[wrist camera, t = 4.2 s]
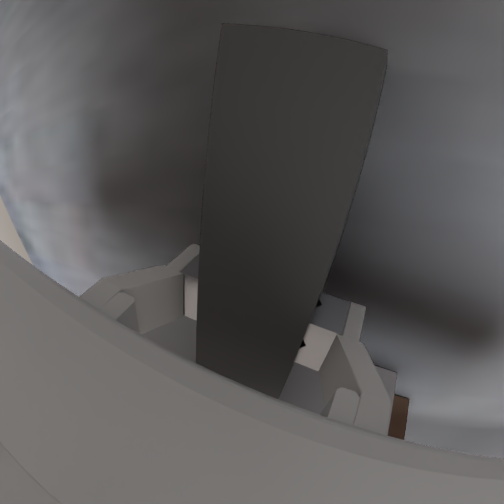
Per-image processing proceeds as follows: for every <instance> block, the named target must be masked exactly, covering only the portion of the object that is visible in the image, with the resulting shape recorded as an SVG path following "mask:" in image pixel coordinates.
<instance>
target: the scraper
mask: <svg viewBox="0 0 504 504" xmlns="http://www.w3.org/2000/svg"><path fill="white" fill-rule="evenodd" d="M387 55H388V50H386V49H382V48H379V47H375V46H371V45H367V44H364V43H360V42H355V41H351V40H347V39H342V38H338V37H333V36H328V35H323V34H317V33H312V32H306V31H299V30H292V29H285V28H277V27H267V26H257V25H244V24H225V23H222V28H221V35H220V42H219V49H218V57H217V64H216V72H215V80H214V88H213V97H212V105H211V114H210V124H209V134H208V144H207V155H206V166H205V178H204V190H203V203H202V218H201V233H200V251H199V270H198V293H197V321H196V320H193V319H191V318H189V317H187V316H184V315H183V317H181V318H179V319H176V320H174V321H172V322H169V323H167V324H164V325H162V326H160V327H157V328H155V329H152V330H150V331H148V332H145V333H143V334H141V335H143V336H145V337H147V338H149V339H150V340H152V341H154V342H156V343H158V344H160V345H162V346H163V347H165V348H167V349H169V350H171V351H173V352H175V353H177V354H179V355H181V356H183V357H185V358H187V359H189V360H191V361H193V362H195V363H197V364H199V365H201V366H203V367H205V368H207V369H209V370H211V371H214V372H216V373H218V374H220V375H222V376H224V377H227V378H229V379H231V380H233V381H236V382H238V383H240V384H242V385H245V386H247V387H249V388H252V389H254V390H256V391H259V392H261V393H264V394H266V395H269V396H271V397H274V398H276V399H279V400H281V401H284V402H286V403H289V404H292V405H294V406H297V407H300V408H302V409H305V410H308V411H311V412H313V413H316V414H319V415H320V413H321V412H322V410H323V409H324V407H325V406H326V403H325V399H324V395H323V391H322V387H321V383H320V379H319V375H318V371H316V370H313V369H311V368H308V367H306V366H303V365H301V364H299V363H296V362H294V361H295V358H296V355H297V353H298V350H299V348H300V346H301V343H302V341H303V338H304V335H305V333H306V330H307V327H308V325H309V322H310V320H311V317H312V315H313V312H314V310H315V308H316V305H317V303H318V300H319V297H320V295H321V292H322V291H323V288H324V286H325V283H326V280H327V277H328V274H329V272H330V269H331V266H332V263H333V260H334V257H335V254H336V251H337V248H338V245H339V242H340V239H341V236H342V233H343V230H344V227H345V224H346V221H347V217H348V214H349V211H350V208H351V204H352V201H353V198H354V194H355V191H356V188H357V184H358V181H359V177H360V174H361V170H362V167H363V163H364V160H365V156H366V152H367V148H368V145H369V141H370V137H371V133H372V129H373V125H374V121H375V117H376V113H377V109H378V105H379V100H380V96H381V92H382V87H383V83H384V78H385V73H386V69H387ZM374 366H375V365H374ZM375 368H376V370H377V372H378V374H379V377H380V379H381V381H382V383H383V385H384V387H385V389H386V391H387V394H388V396H389V398H390V400H391V408H390V414H389V420H388V426H387V431H386V435H388V430H389V425H390V419H391V413H392V406H393V400H394V393H395V385H396V377H397V373H396V372H393V371H390V370H387V369H383V368H380V367H377V366H375Z"/></svg>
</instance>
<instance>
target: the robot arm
mask: <svg viewBox="0 0 504 504" xmlns="http://www.w3.org/2000/svg"><path fill="white" fill-rule="evenodd" d="M199 251H200V246H199V245H197V244H191V245H190V246H189V247H187V248H186V249H185V250H184V251H183V252H182V253H180V254H179V255H178V256H177V257H176V258H175V259H174V260H172V261H171V262H170V263H169V264H168V265H167V266H165V265H159V266H154V267H150V268H146V269H141V270H137V271H132V272H128V273H124V274H119V275H115V276H111V277H106V278H102V279H100V280H99V281H98V282H97V283H95V284H94V285H93V286H92V287H91V288H89V289H88V290H87V291H86V292H84V293H83V294H82V295H81V296H80V297H78V296H77V295H75V294H74V293H72V292H71V291H69V290H68V289H66V288H65V287H63V286H62V285H60V284H59V283H57V282H56V281H54V280H53V279H51V278H50V277H49V276H47V275H46V274H44V273H43V272H42V271H40V270H39V269H37V268H36V267H35V266H33V265H32V264H30V263H29V262H28V261H26V260H25V259H24V258H22V257H21V256H20V255H18V254H17V253H16V252H14V251H13V250H12V249H11V248H9V247H8V246H7V245H5V244H4V243H3V242H2V241H0V504H504V458H497V457H489V456H482V455H475V454H469V453H463V452H457V451H452V450H447V449H442V448H437V447H432V446H428V445H423V444H419V443H414V442H410V441H406V440H402V439H398V438H394V437H391V436H387V435H386V431H387V426H388V420H389V414H390V408H391V400H390V398H389V396H388V394H387V391H386V389H385V387H384V385H383V383H382V381H381V379H380V377H379V374H378V372H377V370H376V368H375V366H374V364H373V362H372V360H371V358H370V356H369V354H368V352H367V350H366V348H365V346H364V344H363V343H361V342H359V340H360V336H361V331H362V326H363V321H364V316H365V310H366V308H365V306H362V305H359V304H356V303H353V302H349V301H346V300H343V299H340V298H338V297H335V296H332V295H329V294H326V293H324V292H321V295H320V297H319V300H318V303H317V305H316V308H315V310H314V312H313V315H312V317H311V320H310V322H309V325H308V327H307V330H306V333H305V335H304V338H303V341H302V343H301V346H300V348H299V350H298V353H297V355H296V358H295V361H294V362H296V363H299V364H301V365H303V366H306V367H308V368H311V369H313V370H316V371H318V375H319V379H320V383H321V387H322V391H323V395H324V399H325V403H326V406H325V407H324V409H323V410H322V412H321V413H320V415H319V414H316V413H313V412H311V411H308V410H305V409H302V408H300V407H297V406H294V405H292V404H289V403H286V402H284V401H281V400H279V399H276V398H274V397H271V396H269V395H266V394H264V393H261V392H259V391H256V390H254V389H252V388H249V387H247V386H245V385H242V384H240V383H238V382H236V381H233V380H231V379H229V378H227V377H224V376H222V375H220V374H218V373H216V372H214V371H211V370H209V369H207V368H205V367H203V366H201V365H199V364H197V363H195V362H193V361H191V360H189V359H187V358H185V357H183V356H181V355H179V354H177V353H175V352H173V351H171V350H169V349H167V348H165V347H163V346H162V345H160V344H158V343H156V342H154V341H152V340H150V339H149V338H147V337H145V336H143V335H141V334H143V333H145V332H148V331H150V330H152V329H155V328H157V327H160V326H162V325H164V324H167V323H169V322H172V321H174V320H176V319H179V318H181V317H183V315H184V316H187V317H189V318H191V319H193V320H196V321H197V293H198V270H199Z"/></svg>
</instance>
